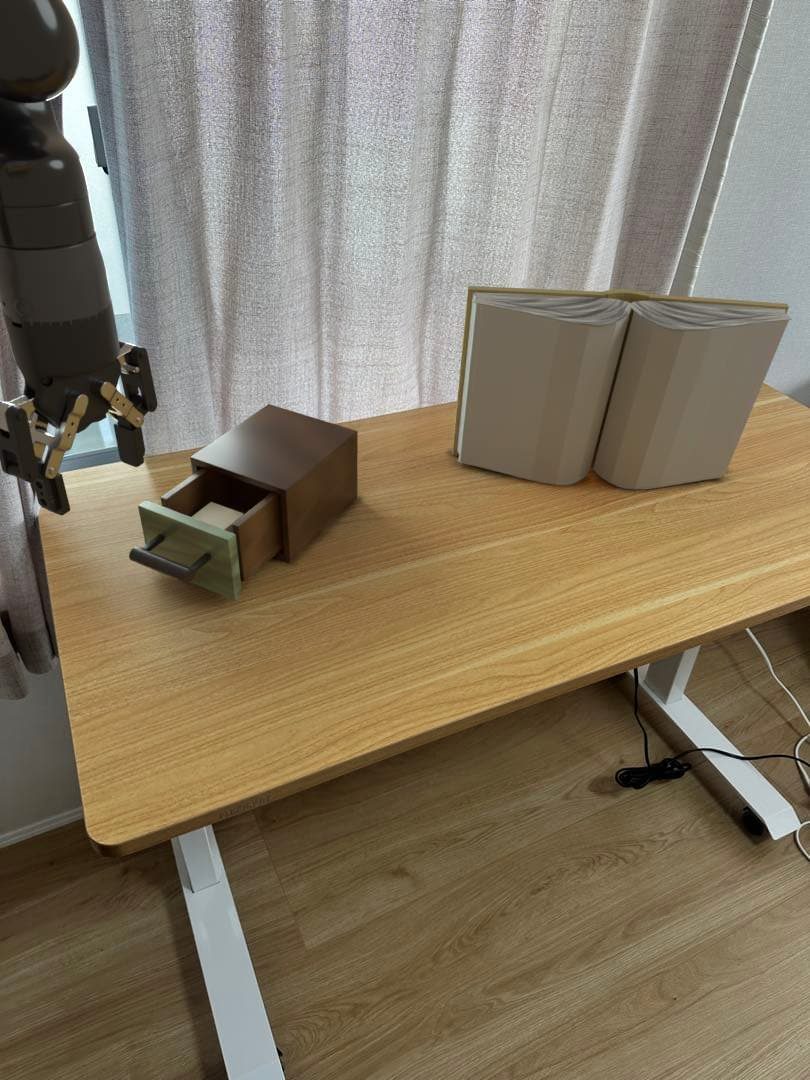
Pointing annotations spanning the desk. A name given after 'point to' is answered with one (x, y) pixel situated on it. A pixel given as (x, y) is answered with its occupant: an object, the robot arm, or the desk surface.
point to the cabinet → (290, 468)
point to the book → (609, 383)
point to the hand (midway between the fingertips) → (96, 486)
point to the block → (218, 516)
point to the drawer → (210, 533)
